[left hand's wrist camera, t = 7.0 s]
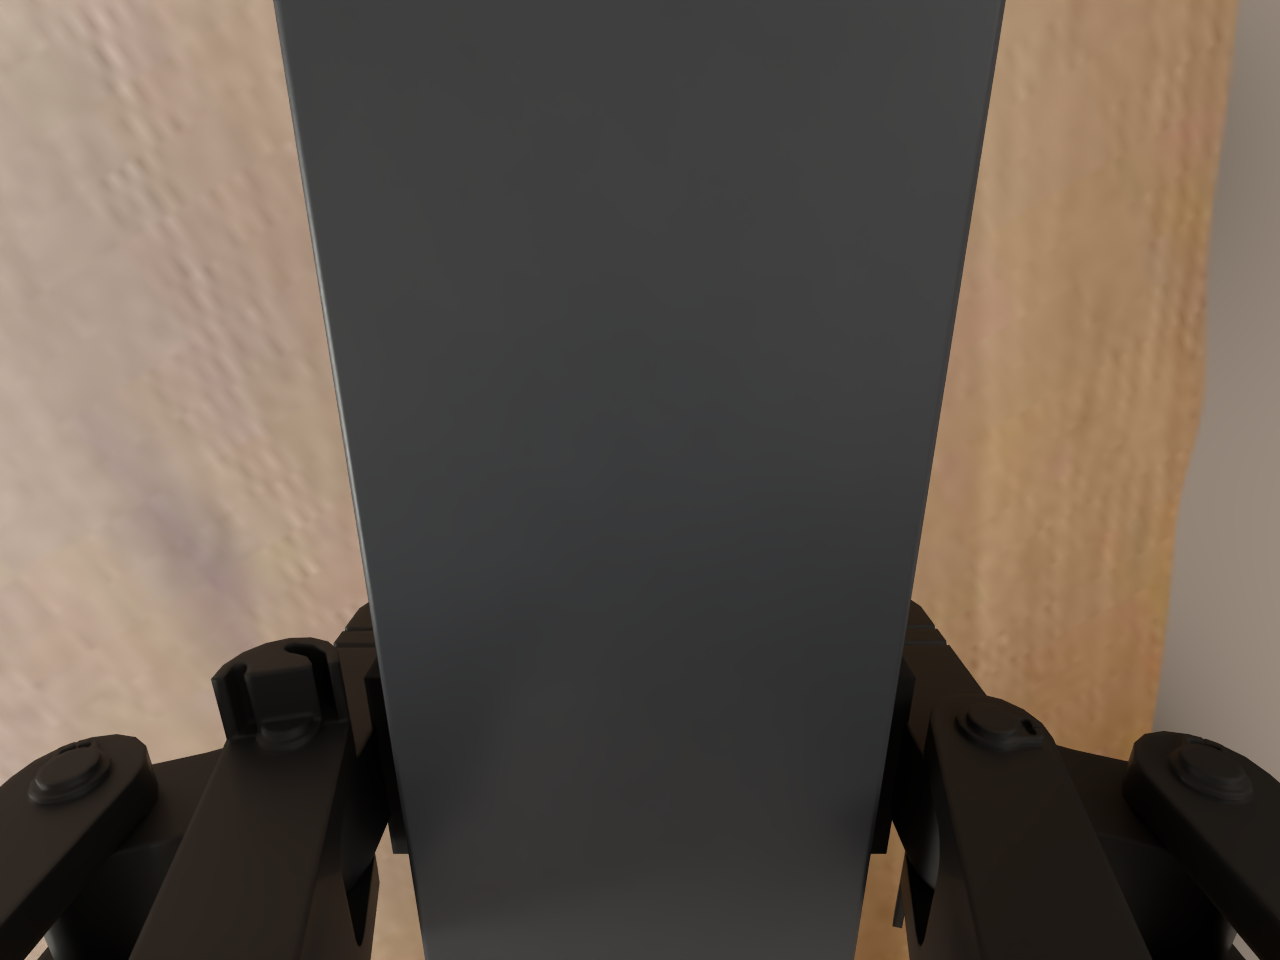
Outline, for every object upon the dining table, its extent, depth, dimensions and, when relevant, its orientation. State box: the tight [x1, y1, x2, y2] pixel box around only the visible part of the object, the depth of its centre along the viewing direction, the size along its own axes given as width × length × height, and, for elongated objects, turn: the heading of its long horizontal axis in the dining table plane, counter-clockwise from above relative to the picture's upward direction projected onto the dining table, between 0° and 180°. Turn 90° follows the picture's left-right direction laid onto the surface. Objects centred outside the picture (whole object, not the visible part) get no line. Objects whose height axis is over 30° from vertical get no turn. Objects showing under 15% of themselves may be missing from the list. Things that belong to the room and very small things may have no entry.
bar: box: [273, 0, 1006, 960], centre depth 8 cm, size 21×5×8 cm, turn 0°
